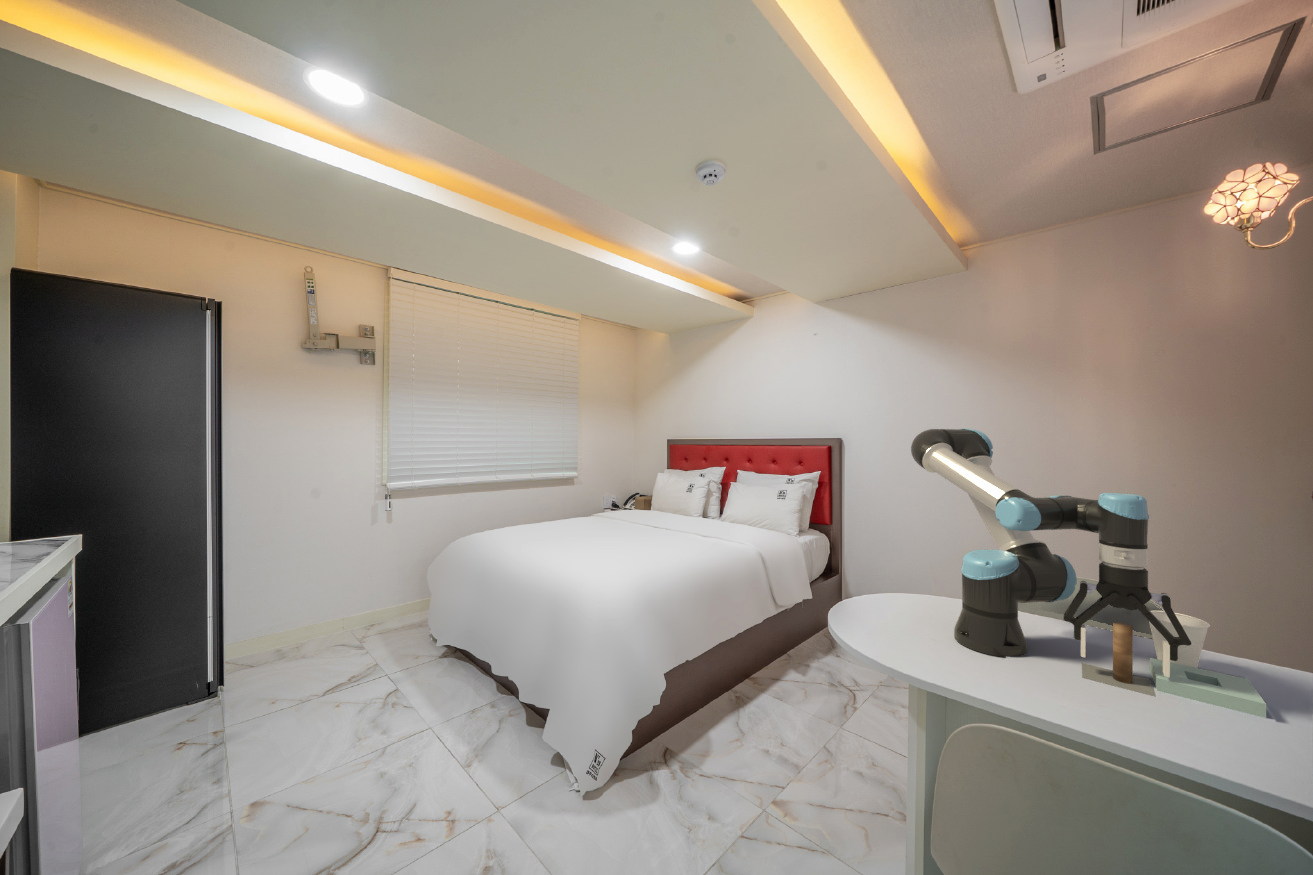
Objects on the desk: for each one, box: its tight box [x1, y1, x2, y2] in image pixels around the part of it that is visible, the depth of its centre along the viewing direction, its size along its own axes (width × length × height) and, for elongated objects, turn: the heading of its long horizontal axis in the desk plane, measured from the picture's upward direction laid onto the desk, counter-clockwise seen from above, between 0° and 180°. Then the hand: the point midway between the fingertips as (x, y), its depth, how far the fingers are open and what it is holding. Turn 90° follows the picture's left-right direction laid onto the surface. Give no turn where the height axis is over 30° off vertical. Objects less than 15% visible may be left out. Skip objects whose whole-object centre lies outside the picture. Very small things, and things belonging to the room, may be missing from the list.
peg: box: [1112, 621, 1134, 684], centre depth 100 cm, size 3×3×12 cm
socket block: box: [1149, 657, 1267, 719], centre depth 96 cm, size 14×12×3 cm
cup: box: [1148, 610, 1211, 668], centre depth 108 cm, size 10×10×11 cm
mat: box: [1081, 662, 1156, 698], centre depth 101 cm, size 11×9×1 cm
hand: (1122, 664), depth 100 cm, fingers open, 12 cm apart
